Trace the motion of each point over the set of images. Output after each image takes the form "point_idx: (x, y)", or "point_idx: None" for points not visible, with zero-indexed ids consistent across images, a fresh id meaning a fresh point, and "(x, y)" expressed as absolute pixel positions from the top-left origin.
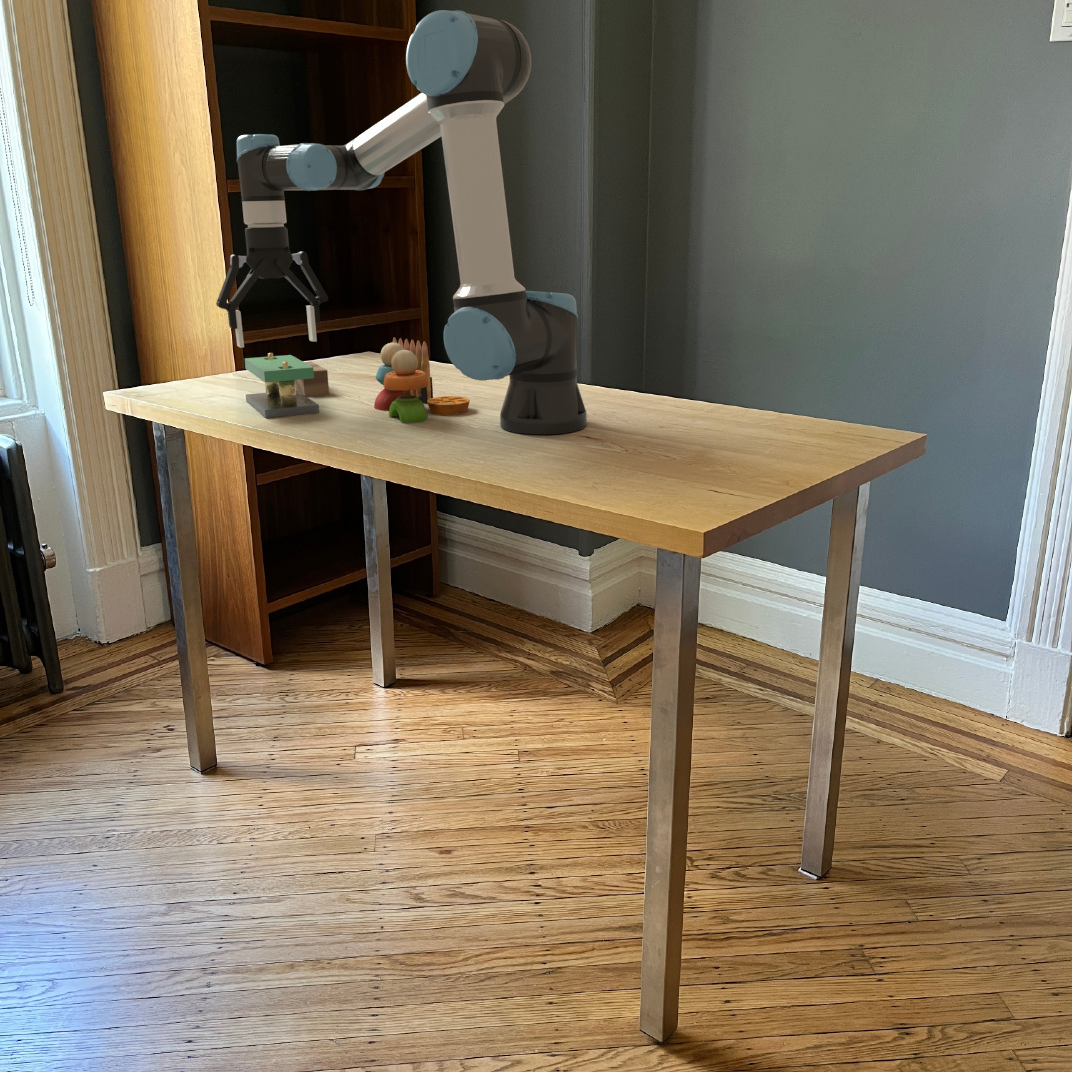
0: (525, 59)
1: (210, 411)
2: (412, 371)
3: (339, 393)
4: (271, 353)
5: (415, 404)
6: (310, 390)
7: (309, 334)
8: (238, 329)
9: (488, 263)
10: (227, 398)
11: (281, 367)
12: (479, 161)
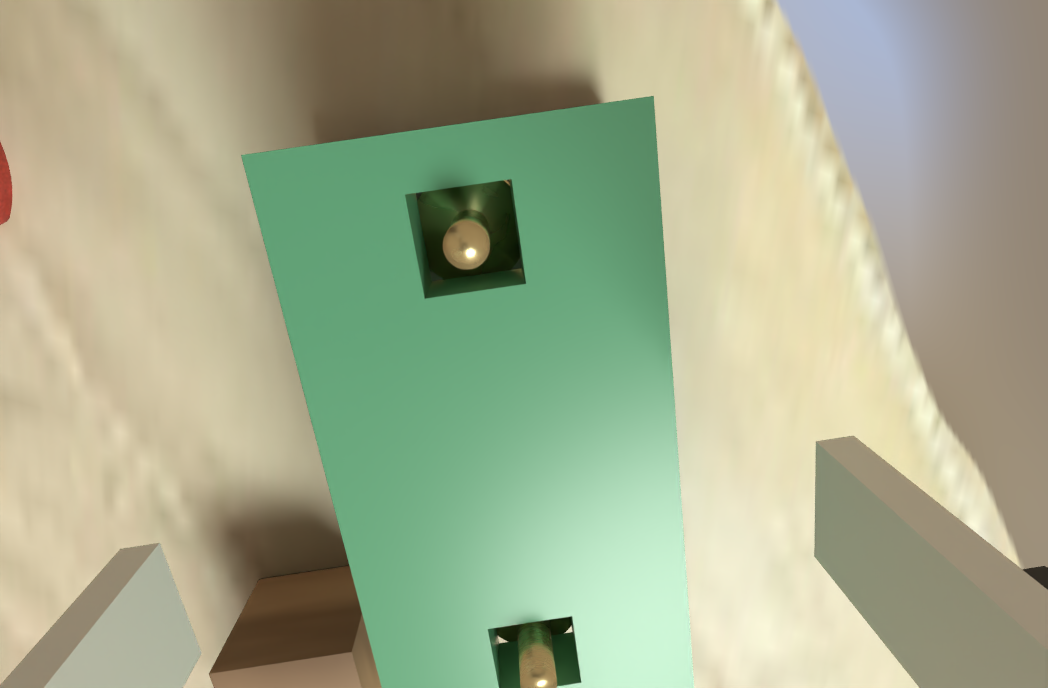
0: None
1: (824, 382)
2: None
3: (209, 596)
4: (531, 677)
5: None
6: (340, 585)
7: (167, 679)
8: (977, 535)
9: None
10: (708, 631)
11: (496, 288)
12: None
